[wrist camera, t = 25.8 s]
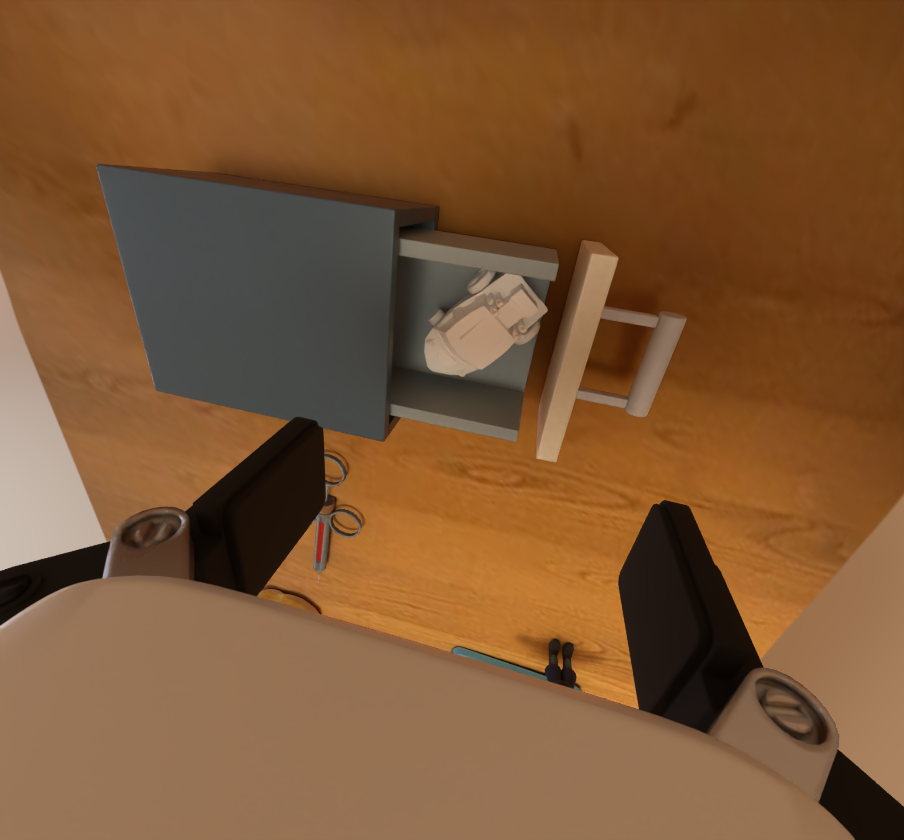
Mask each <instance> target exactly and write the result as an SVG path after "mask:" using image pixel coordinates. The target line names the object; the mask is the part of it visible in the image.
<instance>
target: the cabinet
mask: <svg viewBox="0 0 904 840" xmlns="http://www.w3.org/2000/svg"><path fill="white" fill-rule="evenodd" d="M96 167H97V171H98V175H99V179H100V182H101V186H102V190H103V194H104V197H105V201H106V205H107V209H108V212H109V216H110V220H111V224H112V227H113V231H114V235H115V239H116V243H117V246H118V250H119V254H120V258H121V261H122V265H123V269H124V273H125V276H126V280H127V284H128V288H129V291H130V295H131V299H132V303H133V306H134V310H135V314H136V318H137V322H138V325H139V329H140V333H141V337H142V340H143V344H144V348H145V352H146V355H147V359H148V363H149V367H150V370H151V374H152V378H153V382H154V386H155V389H156V391H159V392H164V393H168V394H173V395H177V396H181V397H186V398H190V399H195V400H199V401H204V402H208V403H213V404H217V405H222V406H226V407H231V408H235V409H239V410H244V411H248V412H253V413H257V414H262V415H266V416H271V417H275V418H280V419H284V420H288V421H291V420H292V419H293V418H295V417H303V418H307V419H312V420H316V421H317V422H318V425H319V426H320V427H322V428H324V429H329V430H333V431H338V432H342V433H346V434H351V435H355V436H360V437H364V438H369V439H373V440H378V441H382V442H384V441H385V439H386V438H387V437H388V435H389V434H390V433H391V431H392V430H393V428H394V427H395V425H396V424H397V422H398V421H399V419H400V418H401V417H397V416H392V415H389V410H390V391H391V372H392V353H393V334H394V316H395V297H396V278H397V259H398V240H399V227H403V226H410V227H416V228H423V229H429V230H436V231H437V225H438V215H439V206H434V205H428V204H421V203H414V202H408V201H401V200H394V199H387V198H381V197H374V196H367V195H361V194H354V193H347V192H341V191H334V190H327V189H320V188H314V187H307V186H300V185H294V184H287V183H280V182H274V181H267V180H260V179H253V178H247V177H240V176H233V175H227V174H220V173H210V172H197V171H184V170H171V169H157V168H144V167H131V166H118V165H105V164H97V165H96Z"/></svg>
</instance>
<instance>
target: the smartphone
mask: <svg viewBox="0 0 904 840" xmlns="http://www.w3.org/2000/svg"><path fill="white" fill-rule="evenodd" d="M452 653H454V654H458V655H461V656H465V657H468V658H471V659H475V660H478V661H482V662H485V663H488V664H492V665H495V666H498V667H502V668H505V669H508V670H512V671H515V672H518V673H522V674H525V675H528V676H532V677H535V678H538V679H542V680H545V681H548V680H547V677H546V676H544V675H541V674H538V673H535V672H532V671H529V670H527V669H524V668H521V667H518V666H515V665H512V664H509V663H506V662H503V661H500V660H497V659H494V658H491V657H488V656H486V655H483V654H480V653H477V652H474V651H471V650H468V649H465V648H462V647H456V648H454V649H453V650H452ZM574 689H575V690H578V691H581V690H580V689H579V688H578V687H576V686H574Z"/></svg>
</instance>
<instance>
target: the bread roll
mask: <svg viewBox="0 0 904 840" xmlns="http://www.w3.org/2000/svg"><path fill="white" fill-rule="evenodd" d="M257 597H261V598H264V599H268V600H272V601H275V602H279V603H282V604H286V605H289V606H293V607H296V608H300V609H303V610H307V611H310V612H314V613H317V614H319V612H318V611H317V610H316V609H315V607H314V606H312V605H311V604H310V603H309V602H307V601H306V600H304V599H302V598H300V597H297V596H294V595H290V594H284V593H283V592H281V591H278V590H275V589H266V590H263V591H261V592H260V593H259V594H258V596H257Z"/></svg>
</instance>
